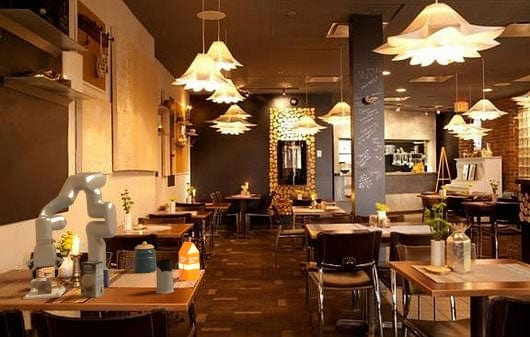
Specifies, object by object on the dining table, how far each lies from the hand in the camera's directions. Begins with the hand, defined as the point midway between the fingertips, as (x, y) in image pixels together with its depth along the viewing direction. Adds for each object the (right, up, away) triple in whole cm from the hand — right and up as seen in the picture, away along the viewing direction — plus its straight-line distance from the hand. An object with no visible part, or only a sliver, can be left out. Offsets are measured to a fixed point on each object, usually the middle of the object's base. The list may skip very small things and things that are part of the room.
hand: (45, 277), depth 258 cm
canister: (+36, -8, +55) cm, 66 cm away
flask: (+22, -8, +16) cm, 28 cm away
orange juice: (+66, -7, +30) cm, 72 cm away
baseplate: (0, -8, -1) cm, 8 cm away
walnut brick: (0, -7, -1) cm, 7 cm away
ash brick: (-9, -9, +12) cm, 17 cm away
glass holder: (+60, -7, +1) cm, 61 cm away
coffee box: (+24, -8, -5) cm, 26 cm away
